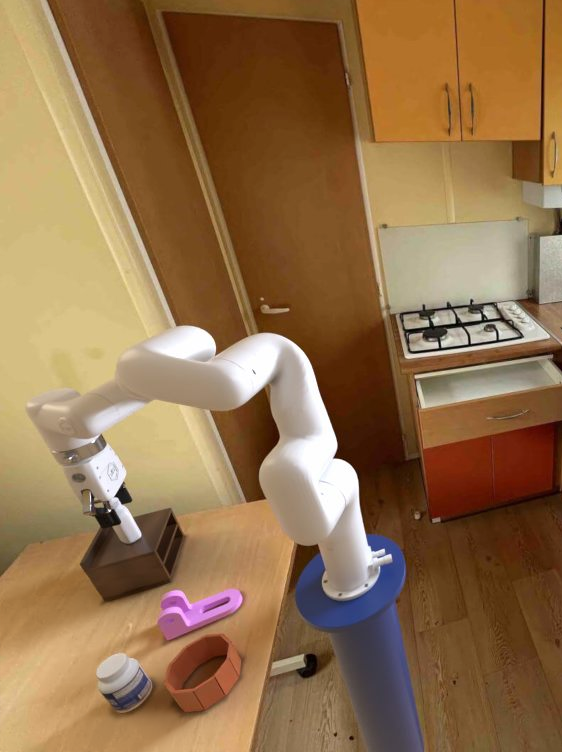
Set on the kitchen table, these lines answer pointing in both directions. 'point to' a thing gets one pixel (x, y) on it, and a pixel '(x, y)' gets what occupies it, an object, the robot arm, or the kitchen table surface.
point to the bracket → (194, 611)
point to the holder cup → (210, 688)
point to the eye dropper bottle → (125, 523)
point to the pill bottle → (123, 682)
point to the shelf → (134, 556)
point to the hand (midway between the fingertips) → (117, 513)
